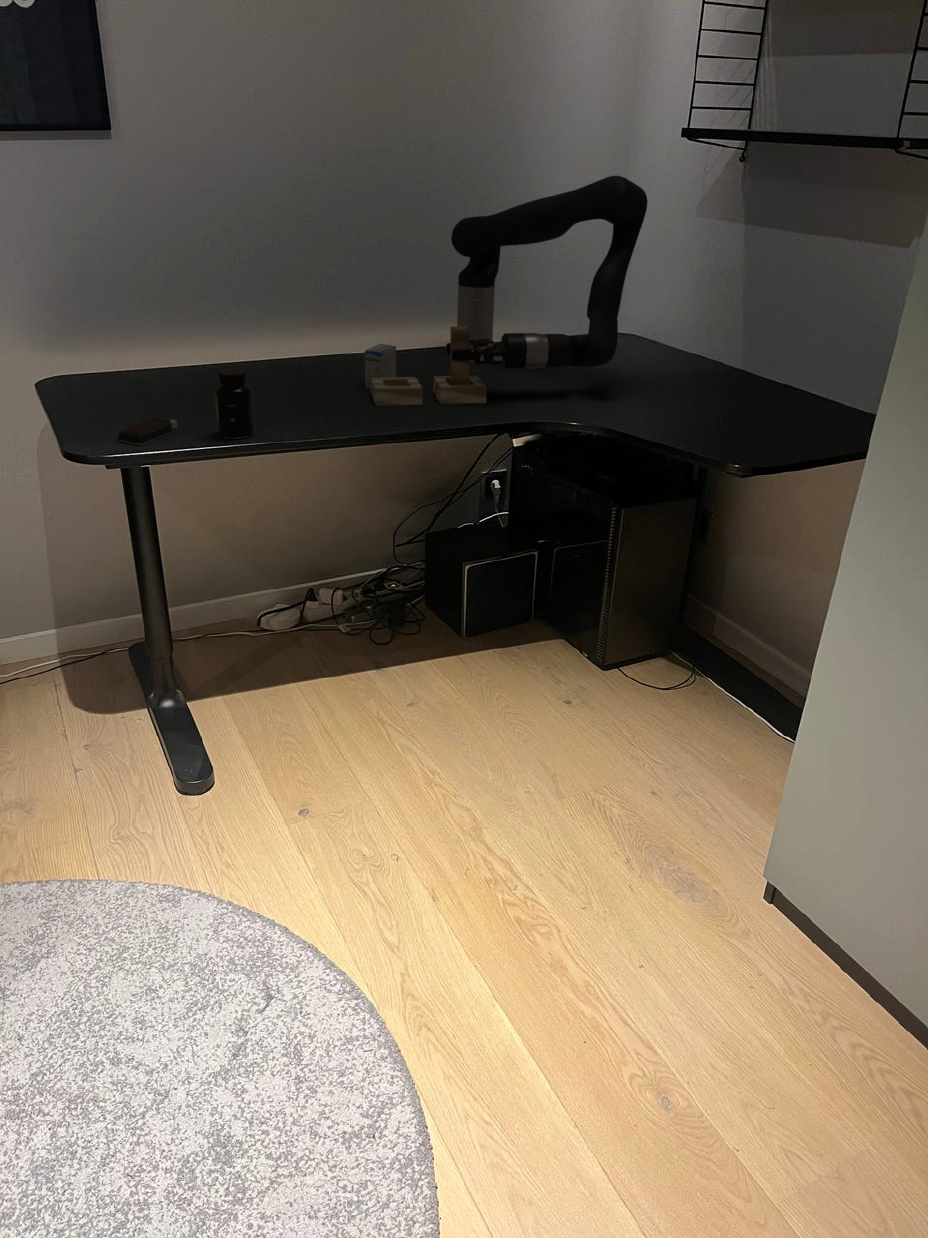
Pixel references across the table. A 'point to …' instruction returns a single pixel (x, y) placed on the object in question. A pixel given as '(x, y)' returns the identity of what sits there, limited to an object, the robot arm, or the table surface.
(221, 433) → the supplement bottle
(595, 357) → the robot arm
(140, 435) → the usb drive
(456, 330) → the tall brown wooden block
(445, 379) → the end cap
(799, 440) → the table surface
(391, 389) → the end cap
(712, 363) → the table surface
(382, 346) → the medicine box
